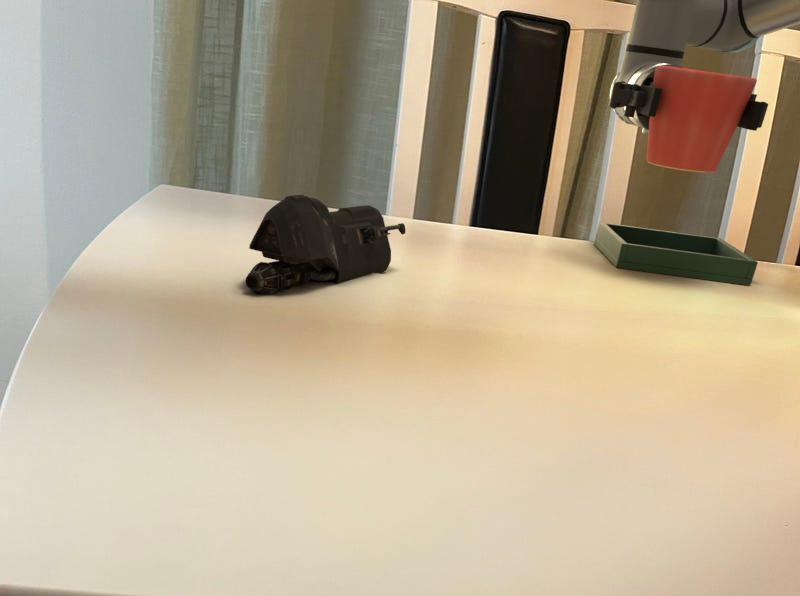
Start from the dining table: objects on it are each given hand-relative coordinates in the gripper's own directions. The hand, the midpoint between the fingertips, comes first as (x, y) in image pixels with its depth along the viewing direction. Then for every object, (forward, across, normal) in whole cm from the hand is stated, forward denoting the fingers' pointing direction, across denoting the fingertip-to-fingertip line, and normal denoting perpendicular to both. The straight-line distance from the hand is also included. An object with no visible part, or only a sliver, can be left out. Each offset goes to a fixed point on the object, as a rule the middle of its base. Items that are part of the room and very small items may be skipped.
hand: (706, 109), depth 108 cm
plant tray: (-14, -4, -18) cm, 23 cm away
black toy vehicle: (+24, +39, -18) cm, 49 cm away
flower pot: (-4, 0, -6) cm, 7 cm away
